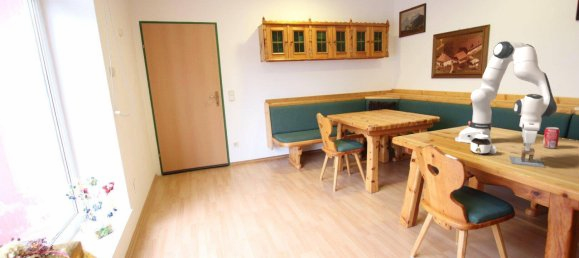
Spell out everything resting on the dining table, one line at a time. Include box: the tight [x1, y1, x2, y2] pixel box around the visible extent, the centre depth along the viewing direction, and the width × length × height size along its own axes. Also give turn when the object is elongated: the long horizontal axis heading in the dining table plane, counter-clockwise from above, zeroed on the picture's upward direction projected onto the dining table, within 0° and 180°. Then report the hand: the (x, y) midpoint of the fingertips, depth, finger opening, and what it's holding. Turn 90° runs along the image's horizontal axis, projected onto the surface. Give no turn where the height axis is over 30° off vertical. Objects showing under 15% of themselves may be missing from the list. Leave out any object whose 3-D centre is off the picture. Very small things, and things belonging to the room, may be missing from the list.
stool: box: [520, 146, 536, 163], centre depth 158 cm, size 5×5×7 cm
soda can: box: [542, 126, 561, 150], centre depth 181 cm, size 7×7×13 cm
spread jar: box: [470, 134, 497, 156], centre depth 176 cm, size 12×11×12 cm
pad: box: [509, 155, 546, 168], centre depth 159 cm, size 14×14×1 cm
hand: (526, 148), depth 158 cm, fingers open, 8 cm apart
